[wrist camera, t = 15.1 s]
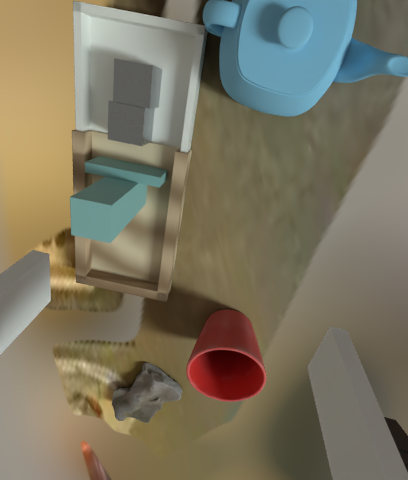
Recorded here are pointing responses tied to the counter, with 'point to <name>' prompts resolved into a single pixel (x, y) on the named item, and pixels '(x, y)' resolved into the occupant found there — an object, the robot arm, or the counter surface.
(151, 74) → the block
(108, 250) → the slot board
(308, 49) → the teapot
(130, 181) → the rake tool
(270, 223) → the counter surface
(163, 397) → the stone
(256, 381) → the flower pot
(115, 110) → the block
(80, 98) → the tray
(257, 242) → the counter surface
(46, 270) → the robot arm
